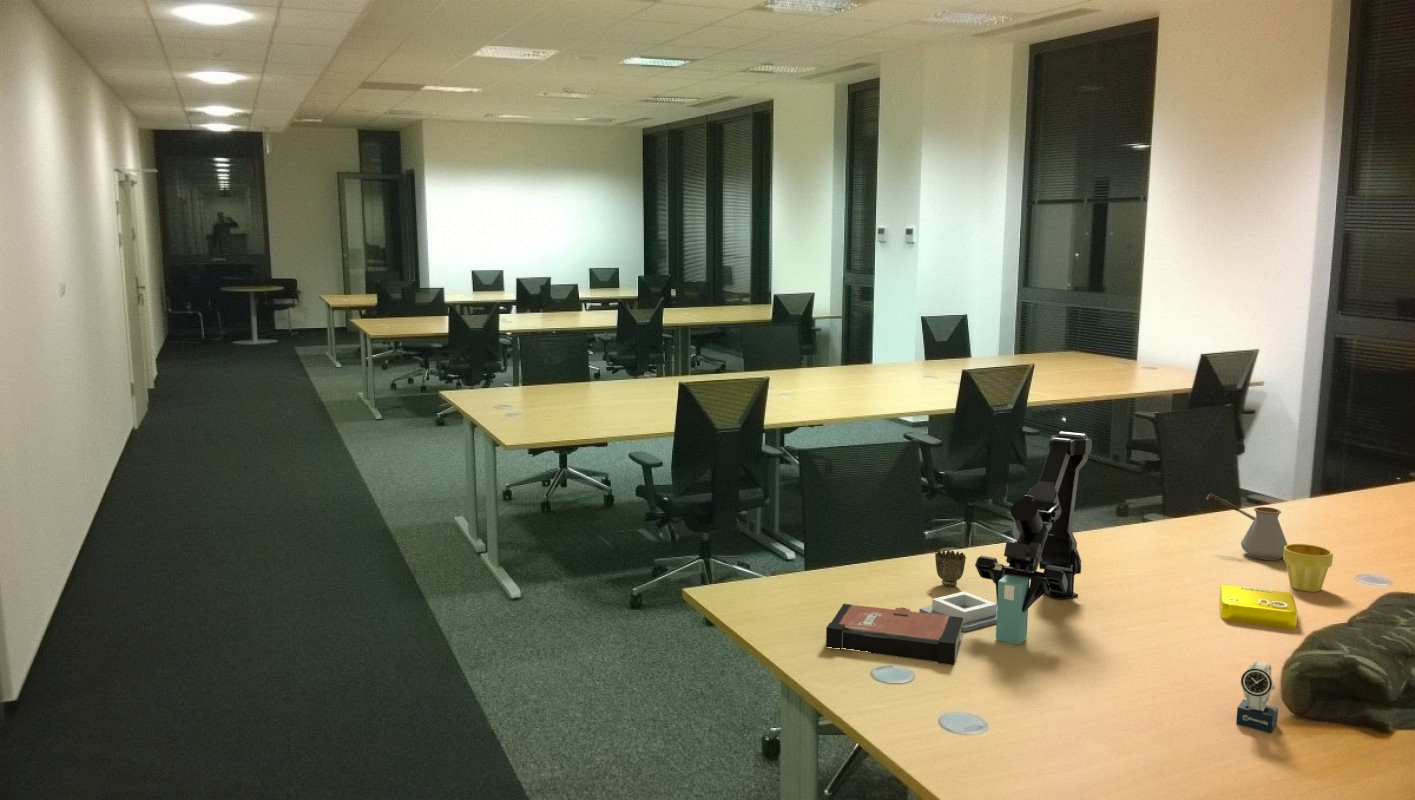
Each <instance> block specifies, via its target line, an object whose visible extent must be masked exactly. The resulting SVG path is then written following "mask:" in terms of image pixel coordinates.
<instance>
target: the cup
mask: <svg viewBox="0 0 1415 800" xmlns="http://www.w3.org/2000/svg"><path fill="white" fill-rule="evenodd" d="M934 555H935V558H934V560H935V569H936V574H937V576H938V577H939V578H940V579H941V584H942V585H943V586H944V587H947V588H955V587H956V586H957V585H958V581H959V580H960V579H961V578H962V577H963V574H964V571H965V566H966V559H967V556H966V554H964V552H960V551H956V553H955V552H954V550H947V551H945V550H942V551H940V550H938V551H936V552H935V553H934Z"/></svg>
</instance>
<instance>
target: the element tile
mask: <svg viewBox="0 0 1415 800" xmlns="http://www.w3.org/2000/svg"><path fill="white" fill-rule="evenodd" d="M1219 607H1220V608H1219ZM1218 608H1219V617H1220V618H1221V619H1223V620H1225V621H1228V622H1234V623H1235V622H1236V623H1242V624H1249V625H1257V626H1263V627H1264V626H1265V627H1271V628H1272V627H1273V628H1279V629H1286V630H1288V629H1289V630H1292V629H1296V628H1297V621H1298V620H1297V619H1298V609H1297V605H1296V602H1295V599H1294V595H1293V594H1292V593H1290V592H1288V591H1281V590H1273V589H1272V590H1271V589H1266V588H1265V589H1264V588H1260V587H1259V588H1255V587H1247V586H1239V585H1233V584H1232V585H1230V584H1222V585H1220V587H1219V598H1218Z"/></svg>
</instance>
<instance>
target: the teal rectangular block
mask: <svg viewBox="0 0 1415 800" xmlns="http://www.w3.org/2000/svg"><path fill="white" fill-rule="evenodd" d="M1030 581H1031V580H1030V579H1026V578H1020V577H1015V576H1010V575H1006V576H1004V577H1003V578H1002V579H1000V580H999V581H998V601H997V600H996V604H997V623H996V624H995V625H996V627H995V628H996V629H995V631H996V632H995V640H996V641H1000V642H1005V643H1009V644H1014V645H1017V646H1020V645H1021V644H1022V642H1024V641H1025V640H1026V639H1027V638H1028V620H1029V619H1028V617H1029V608H1028V609H1027V610H1026V611H1025V612H1023V611H1022V607H1023V603H1024V600H1025V598H1026V595H1027V592H1028V590H1029V587H1030Z"/></svg>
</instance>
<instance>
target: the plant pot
mask: <svg viewBox="0 0 1415 800" xmlns="http://www.w3.org/2000/svg"><path fill="white" fill-rule="evenodd" d="M1282 557H1283V561H1284V562H1285V563H1286V568H1287V569H1286V570H1287V575H1288V580H1289V586H1290V587H1291V588H1292V589H1293V590H1296V591H1301V592H1306V591H1307V592H1308V593H1313V592H1314V593H1315V592H1317V593H1318V592H1319V591H1321V590H1322V588H1323V585H1324V584H1325V583H1324V582H1325V579H1326V576H1327V573H1328V571H1329V568H1331V567H1332V566H1333V559H1334V553H1333V551H1332V550H1331V549H1330V548H1327V547H1323V546H1319V545H1314V544H1308V543H1290V544H1288V545H1286V546H1285V547H1284V556H1282ZM1307 592H1306V593H1307Z"/></svg>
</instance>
